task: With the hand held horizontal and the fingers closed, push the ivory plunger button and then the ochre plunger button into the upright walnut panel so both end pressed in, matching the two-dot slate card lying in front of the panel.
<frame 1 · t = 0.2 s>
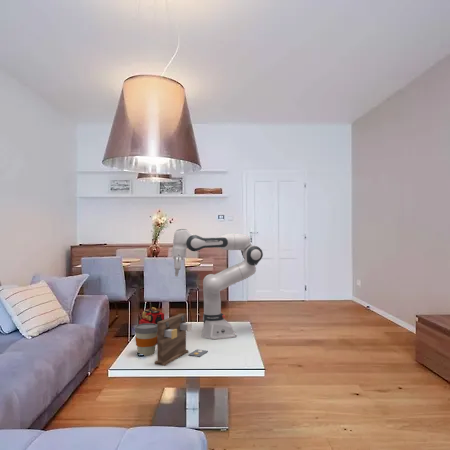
hand: (176, 275, 232), 39 cm above the table, tool pointing down, fingers open, 8 cm apart
ivory button: (183, 326, 197), point 15 cm above the table, slide at 0.0 cm
panel: (172, 357, 191), on the table
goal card: (198, 353, 198), on the table
reusable coffee cup: (146, 353, 199), on the table
ochre button: (168, 333, 184), point 15 cm above the table, slide at 0.0 cm
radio: (151, 342, 221), on the table
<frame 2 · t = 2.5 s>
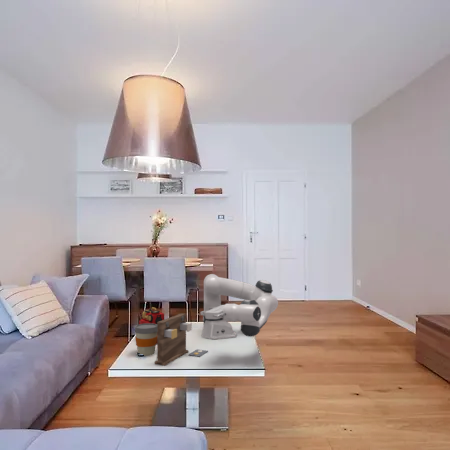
hand: (205, 311, 192), 24 cm above the table, tool horizontal, fingers open, 8 cm apart
nothing on the table moved.
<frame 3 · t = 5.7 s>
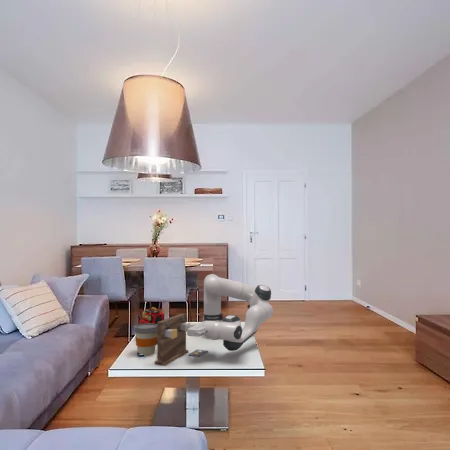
hand: (188, 327, 196), 15 cm above the table, tool horizontal, fingers closed, pressing on ivory button
ivory button: (182, 326, 198), point 15 cm above the table, slide at 0.9 cm, touching gripper
everything else where it was.
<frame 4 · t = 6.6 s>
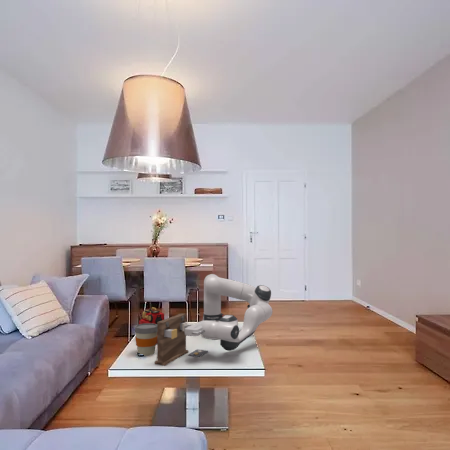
hand: (185, 326, 197), 15 cm above the table, tool horizontal, fingers closed
ivory button: (179, 326, 198), point 15 cm above the table, slide at 2.7 cm
everything else where it was.
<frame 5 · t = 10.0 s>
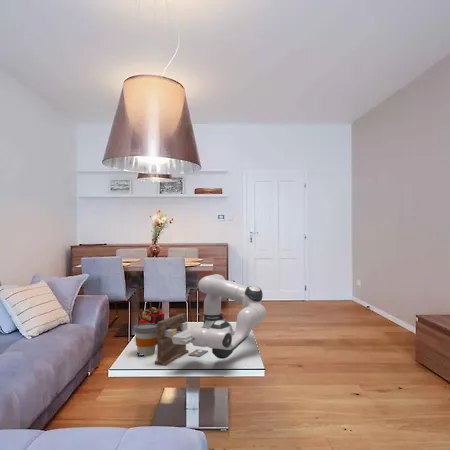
hand: (174, 333, 182), 15 cm above the table, tool horizontal, fingers closed, pressing on ochre button
ochre button: (168, 333, 184), point 15 cm above the table, slide at 0.3 cm, touching gripper
everything else where it was.
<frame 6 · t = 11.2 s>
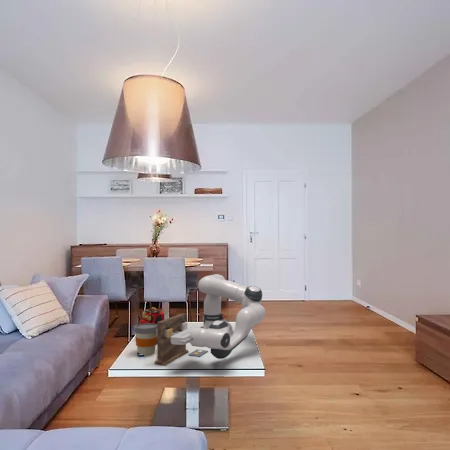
hand: (172, 334, 182), 15 cm above the table, tool horizontal, fingers closed
ochre button: (164, 332, 185), point 15 cm above the table, slide at 2.7 cm
everything else where it was.
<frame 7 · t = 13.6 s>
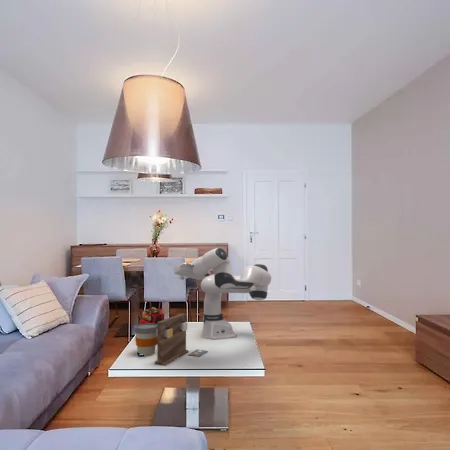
hand: (180, 278, 195), 42 cm above the table, tool tilted 60°, fingers closed
nothing on the table moved.
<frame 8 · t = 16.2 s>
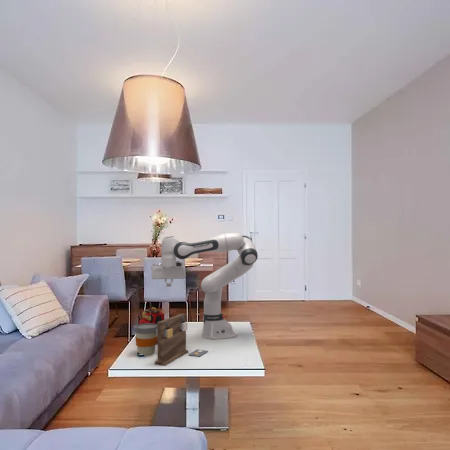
hand: (168, 286, 218), 34 cm above the table, tool pointing down, fingers closed
nothing on the table moved.
at the end: ivory button slide at 2.7 cm; ochre button slide at 2.7 cm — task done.
